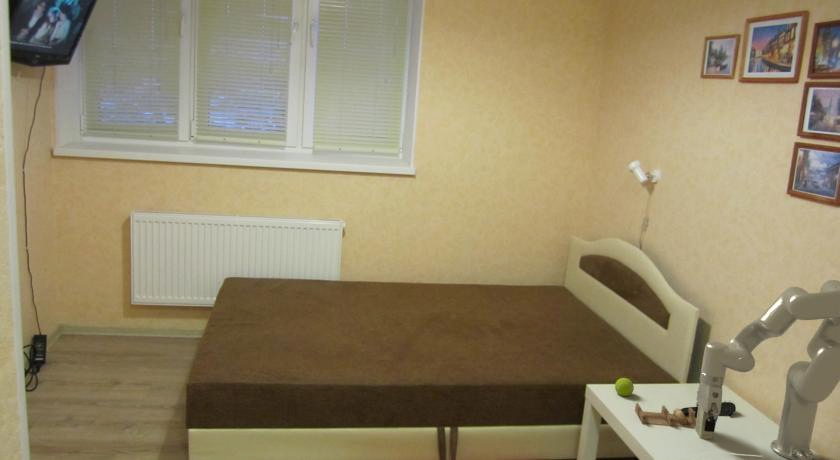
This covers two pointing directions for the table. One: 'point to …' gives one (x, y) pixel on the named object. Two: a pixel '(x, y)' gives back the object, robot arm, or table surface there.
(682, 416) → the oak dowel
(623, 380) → the tennis ball
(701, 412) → the skincare box
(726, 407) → the hairbrush
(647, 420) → the rack
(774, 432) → the table surface
